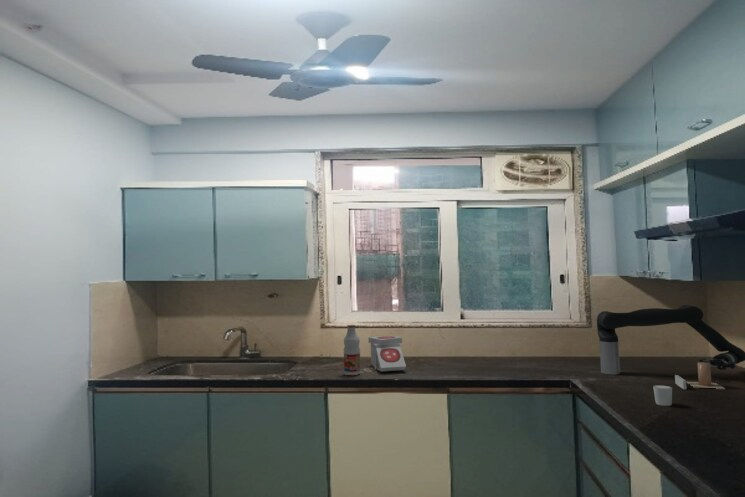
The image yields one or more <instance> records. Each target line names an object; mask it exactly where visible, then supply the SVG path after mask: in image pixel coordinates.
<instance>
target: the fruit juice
mask: <svg viewBox="0 0 745 497" xmlns="http://www.w3.org/2000/svg"><path fill="white" fill-rule="evenodd" d="M346 328H347V332H346V334H345V336H344V338H343V345H344V346H343V370H344V371H343V373H344V372H345V373H359V372H360V371H361V347H360V337H359V336H358V335H357V332H356V325H355V324H348V325H346Z"/></svg>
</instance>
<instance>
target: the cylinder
mask: <svg viewBox="0 0 745 497" xmlns="http://www.w3.org/2000/svg"><path fill="white" fill-rule="evenodd" d="M710 365H711V364H710V363H705V362H699V361H698V362H697V376H698V377H697V379H698V380H697V381H698V382H699V385H704V386H711V385H712V384H711V382H712V374H711V373H712V370H711V367H710Z"/></svg>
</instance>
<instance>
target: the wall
mask: <svg viewBox="0 0 745 497" xmlns="http://www.w3.org/2000/svg"><path fill="white" fill-rule="evenodd" d="M674 380H675V381H674V382H675V385H677V386H678V387H679V388H681V389H683V390H687V389H688V388H687V380H686V379H684V378H682V377H681V376H680V375H678V374H674Z"/></svg>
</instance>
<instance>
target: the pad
mask: <svg viewBox="0 0 745 497" xmlns="http://www.w3.org/2000/svg"><path fill="white" fill-rule="evenodd" d="M686 384H688V385H689V384H690V385H689V386H691V387H692V386H693V388H694V389H699V388H716V389H715V390H726V387H724V386H722V385H720V384H718V383H716V382H715V383H714V382H712V381H711V384H712V385H711V386H704V385H699V381H686Z"/></svg>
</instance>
